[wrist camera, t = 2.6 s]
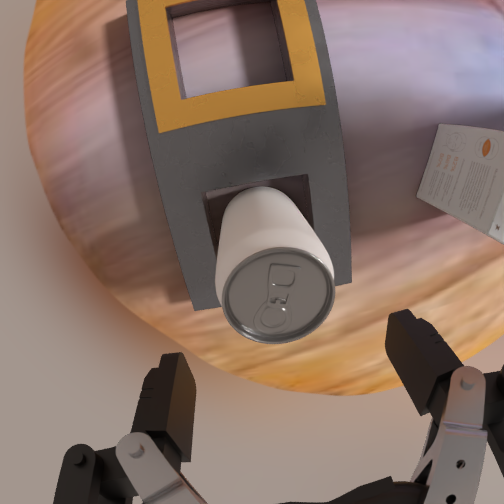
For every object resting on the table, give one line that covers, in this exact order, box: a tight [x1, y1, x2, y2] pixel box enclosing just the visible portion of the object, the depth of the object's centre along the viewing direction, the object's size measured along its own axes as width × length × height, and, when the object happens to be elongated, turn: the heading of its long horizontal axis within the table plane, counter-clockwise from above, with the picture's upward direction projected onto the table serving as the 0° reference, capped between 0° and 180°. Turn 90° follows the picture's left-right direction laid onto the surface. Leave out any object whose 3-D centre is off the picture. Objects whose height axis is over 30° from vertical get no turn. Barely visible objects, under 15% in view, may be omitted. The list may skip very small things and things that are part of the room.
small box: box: [416, 123, 504, 245], centre depth 19 cm, size 8×6×10 cm
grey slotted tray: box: [126, 0, 352, 311], centre depth 21 cm, size 27×14×3 cm, turn 10°
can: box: [215, 186, 335, 344], centre depth 20 cm, size 6×6×12 cm
